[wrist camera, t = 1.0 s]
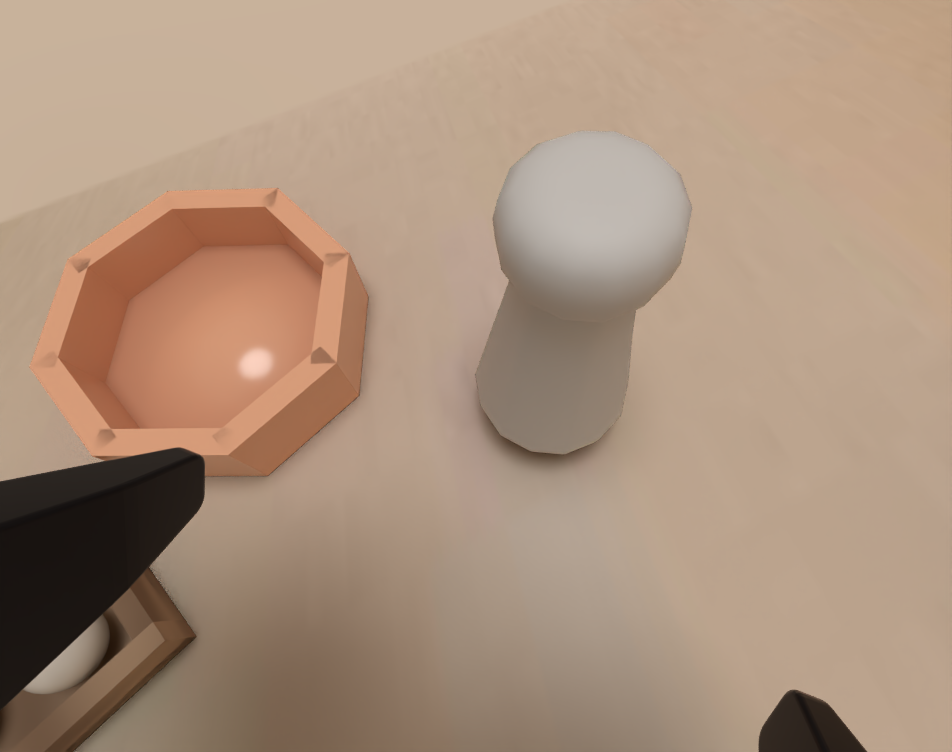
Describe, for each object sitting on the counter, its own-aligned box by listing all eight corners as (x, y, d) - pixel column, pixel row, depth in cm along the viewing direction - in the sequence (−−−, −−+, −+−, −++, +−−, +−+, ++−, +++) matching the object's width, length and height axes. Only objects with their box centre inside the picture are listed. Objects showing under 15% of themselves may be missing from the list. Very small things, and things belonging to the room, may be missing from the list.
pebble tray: (-59, 874, 17) (-125, 906, 16) (-146, 675, 20) (-212, 683, 18) (196, 636, 20) (165, 640, 18) (92, 485, 22) (54, 475, 20)
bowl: (196, 538, 21) (142, 527, 18) (56, 348, 25) (-11, 311, 22) (418, 343, 24) (405, 304, 21) (263, 199, 28) (232, 146, 25)
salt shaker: (507, 488, 22) (516, 351, 10) (459, 366, 24) (418, 130, 12) (638, 437, 22) (802, 248, 10) (580, 323, 24) (658, 56, 12)
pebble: (73, 706, 19) (4, 723, 16) (36, 642, 20) (-34, 649, 17) (142, 643, 19) (87, 650, 17) (104, 584, 20) (46, 582, 18)
